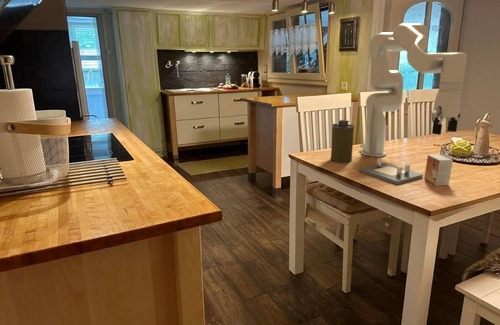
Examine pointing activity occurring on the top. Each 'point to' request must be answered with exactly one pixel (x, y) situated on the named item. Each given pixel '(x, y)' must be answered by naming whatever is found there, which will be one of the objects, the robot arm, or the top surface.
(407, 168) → the guide pins
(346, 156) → the canister
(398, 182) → the pin board
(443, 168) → the small box
